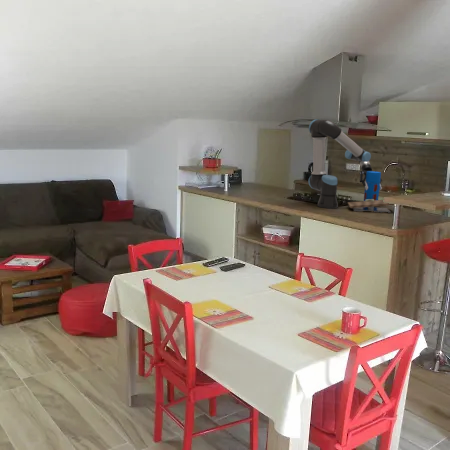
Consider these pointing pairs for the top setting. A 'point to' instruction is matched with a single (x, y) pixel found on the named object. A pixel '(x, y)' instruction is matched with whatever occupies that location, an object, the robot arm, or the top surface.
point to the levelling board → (368, 203)
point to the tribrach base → (372, 209)
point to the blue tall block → (372, 185)
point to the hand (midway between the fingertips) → (373, 189)
